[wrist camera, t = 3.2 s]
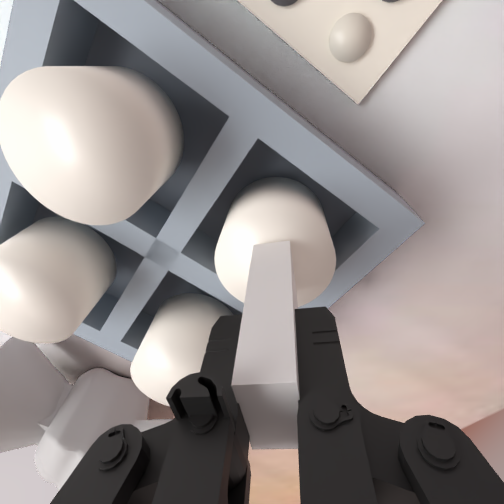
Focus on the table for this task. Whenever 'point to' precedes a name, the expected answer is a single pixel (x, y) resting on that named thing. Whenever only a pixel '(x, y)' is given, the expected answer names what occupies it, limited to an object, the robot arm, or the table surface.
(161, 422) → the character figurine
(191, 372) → the button
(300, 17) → the card
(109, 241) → the button board
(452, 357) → the table surface
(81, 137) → the button
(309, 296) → the button
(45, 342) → the button
